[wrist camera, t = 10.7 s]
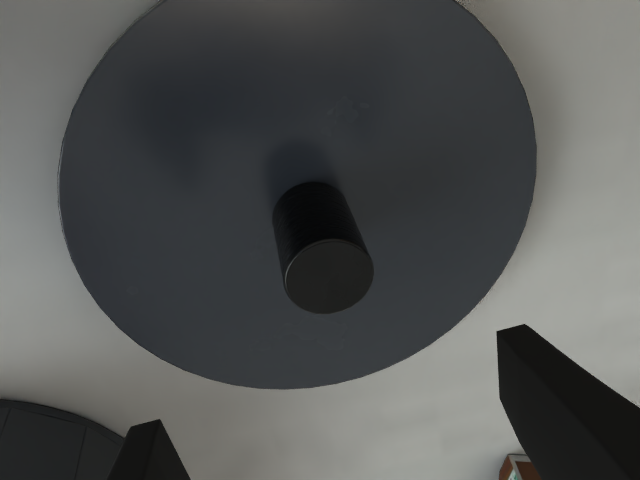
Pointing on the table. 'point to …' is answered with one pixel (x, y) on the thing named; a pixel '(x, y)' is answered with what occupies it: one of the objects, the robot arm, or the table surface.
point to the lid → (296, 183)
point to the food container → (518, 469)
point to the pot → (53, 444)
